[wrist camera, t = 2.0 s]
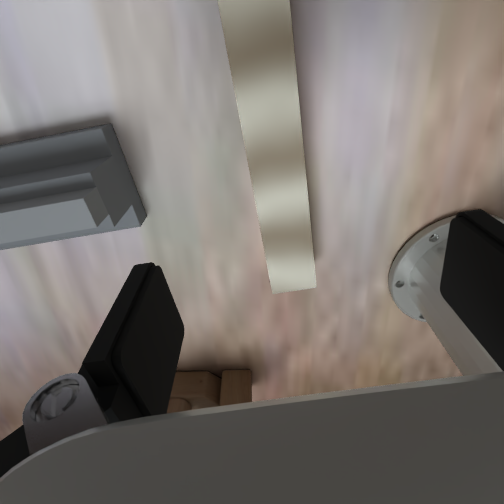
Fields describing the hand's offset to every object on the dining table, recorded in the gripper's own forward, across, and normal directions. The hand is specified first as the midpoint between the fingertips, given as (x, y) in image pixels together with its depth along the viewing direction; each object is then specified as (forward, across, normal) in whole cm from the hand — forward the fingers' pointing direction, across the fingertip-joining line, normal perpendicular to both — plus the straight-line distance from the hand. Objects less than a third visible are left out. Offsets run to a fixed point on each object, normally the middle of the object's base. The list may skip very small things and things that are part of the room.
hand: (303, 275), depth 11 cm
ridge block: (+18, +22, 0) cm, 28 cm away
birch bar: (+18, 0, 0) cm, 18 cm away
